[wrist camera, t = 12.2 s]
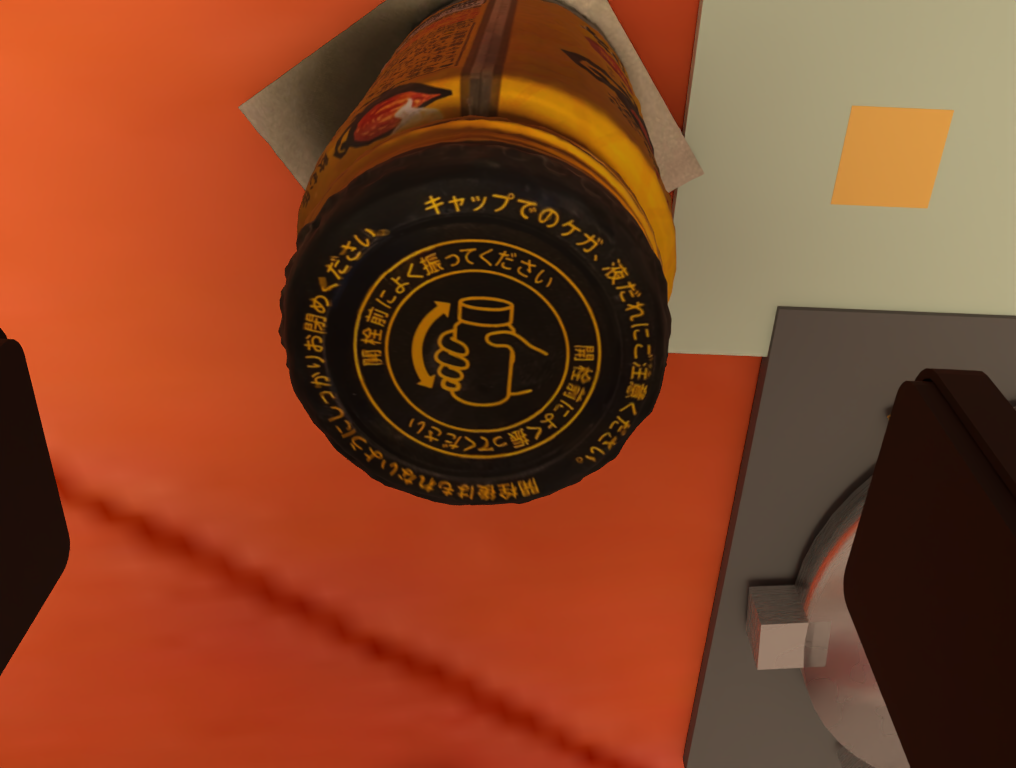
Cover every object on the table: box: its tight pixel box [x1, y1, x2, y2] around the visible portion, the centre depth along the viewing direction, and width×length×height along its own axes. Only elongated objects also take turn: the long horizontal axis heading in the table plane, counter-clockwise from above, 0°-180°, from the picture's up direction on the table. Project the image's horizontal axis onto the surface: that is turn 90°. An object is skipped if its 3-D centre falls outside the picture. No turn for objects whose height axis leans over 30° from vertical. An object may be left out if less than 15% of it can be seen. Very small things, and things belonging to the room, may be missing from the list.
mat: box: [668, 0, 1016, 357], centre depth 23 cm, size 11×10×1 cm
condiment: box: [238, 0, 704, 505], centre depth 18 cm, size 7×8×12 cm
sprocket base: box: [683, 306, 1016, 768], centre depth 30 cm, size 18×18×1 cm
